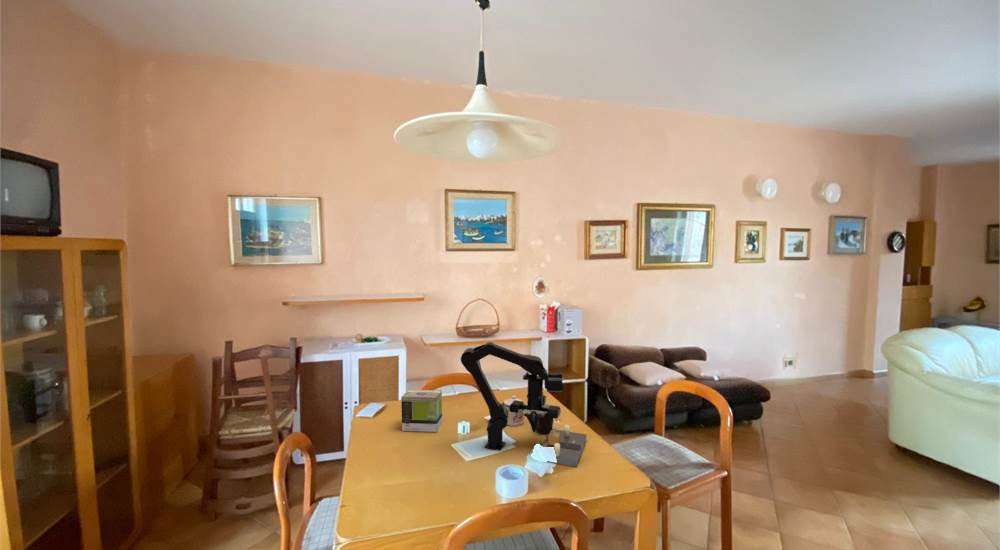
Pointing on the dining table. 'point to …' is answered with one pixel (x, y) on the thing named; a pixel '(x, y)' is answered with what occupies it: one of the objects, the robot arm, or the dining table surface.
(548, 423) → the coffee mug
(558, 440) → the block
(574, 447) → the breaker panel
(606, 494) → the dining table surface
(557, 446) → the cylinder
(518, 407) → the robot arm
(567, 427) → the peg
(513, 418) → the teacup with lid
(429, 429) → the tea box
